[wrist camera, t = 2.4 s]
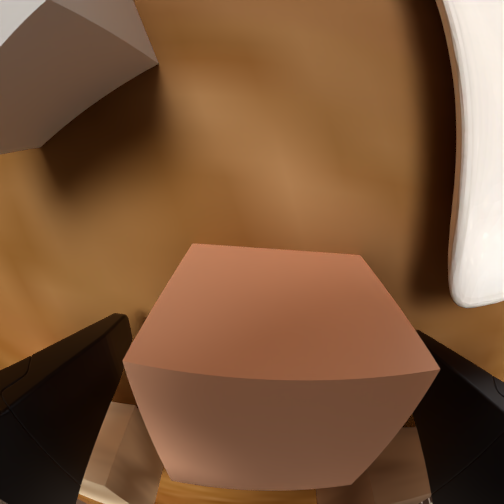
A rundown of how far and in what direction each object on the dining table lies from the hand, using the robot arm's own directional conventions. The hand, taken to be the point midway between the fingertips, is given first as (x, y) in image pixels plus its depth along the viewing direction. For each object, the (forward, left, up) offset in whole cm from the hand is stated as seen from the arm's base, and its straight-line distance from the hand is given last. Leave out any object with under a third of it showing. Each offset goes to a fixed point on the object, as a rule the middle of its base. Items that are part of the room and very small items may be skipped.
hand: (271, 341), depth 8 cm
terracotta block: (0, 0, -1) cm, 1 cm away
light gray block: (+9, +7, -1) cm, 11 cm away
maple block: (-9, +8, -1) cm, 12 cm away
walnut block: (-10, -7, -1) cm, 12 cm away
